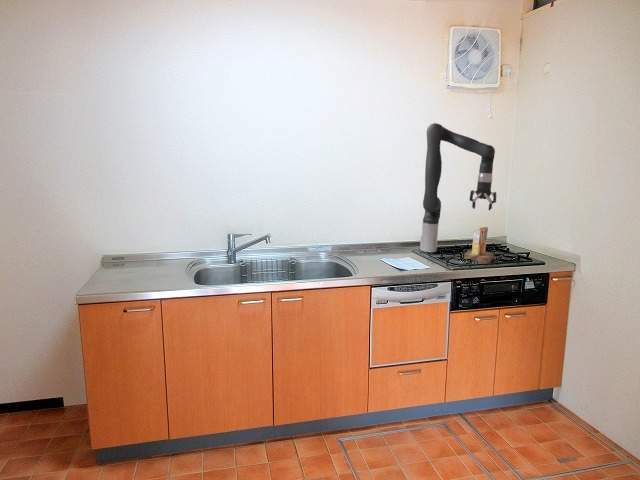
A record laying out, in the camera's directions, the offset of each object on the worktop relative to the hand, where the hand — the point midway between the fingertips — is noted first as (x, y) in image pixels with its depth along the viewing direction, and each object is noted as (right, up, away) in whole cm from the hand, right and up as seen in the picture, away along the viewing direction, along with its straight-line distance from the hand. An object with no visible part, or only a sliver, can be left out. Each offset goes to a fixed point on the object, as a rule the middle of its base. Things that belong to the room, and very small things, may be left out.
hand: (481, 209), depth 267 cm
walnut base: (-2, -28, 0) cm, 28 cm away
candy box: (-2, -26, -1) cm, 26 cm away
